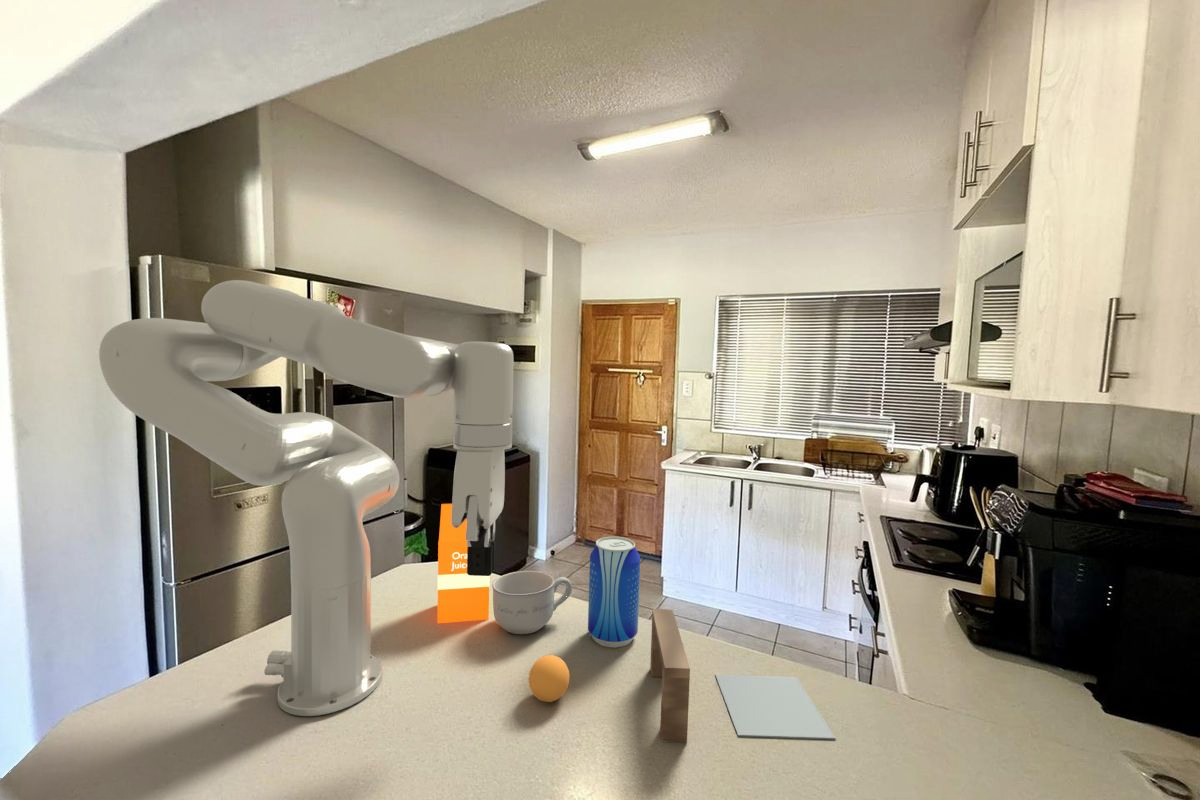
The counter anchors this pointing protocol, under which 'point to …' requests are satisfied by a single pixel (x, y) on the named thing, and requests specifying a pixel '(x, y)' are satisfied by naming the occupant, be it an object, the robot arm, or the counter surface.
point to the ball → (549, 678)
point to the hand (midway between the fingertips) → (480, 572)
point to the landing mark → (771, 707)
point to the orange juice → (458, 576)
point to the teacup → (526, 600)
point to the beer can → (614, 591)
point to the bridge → (670, 675)
